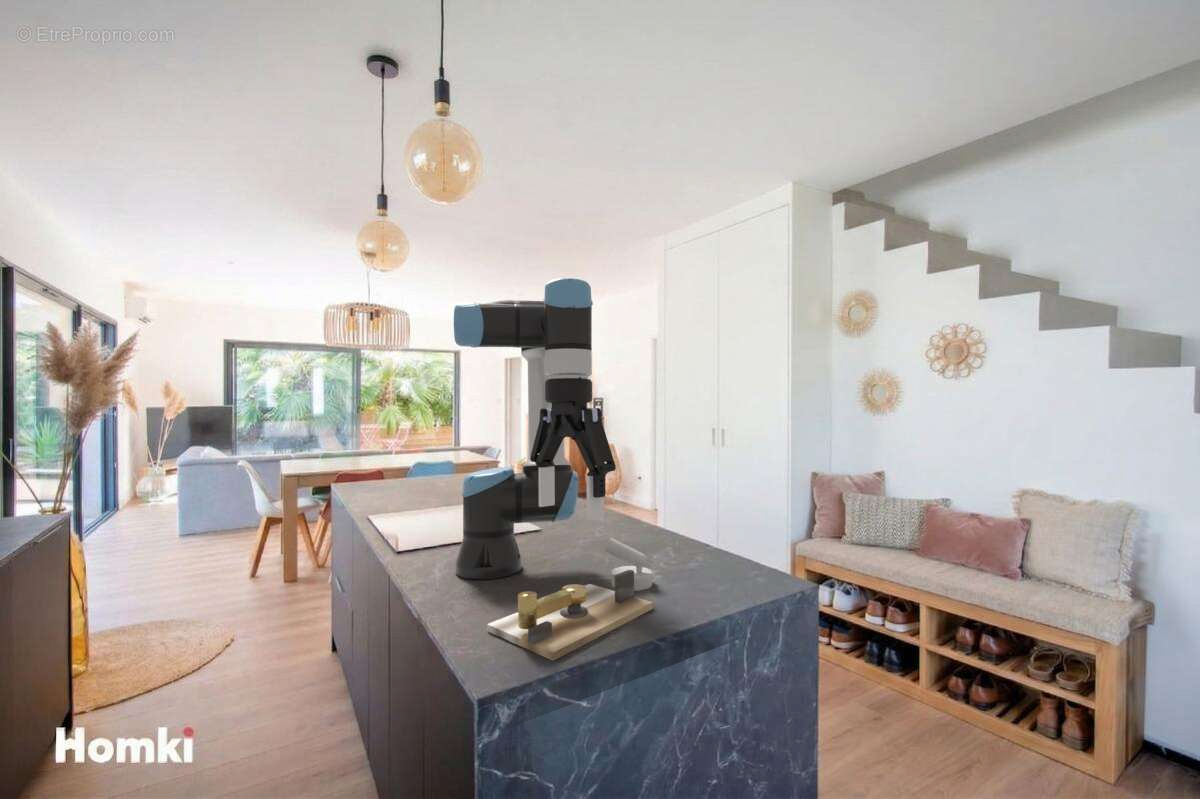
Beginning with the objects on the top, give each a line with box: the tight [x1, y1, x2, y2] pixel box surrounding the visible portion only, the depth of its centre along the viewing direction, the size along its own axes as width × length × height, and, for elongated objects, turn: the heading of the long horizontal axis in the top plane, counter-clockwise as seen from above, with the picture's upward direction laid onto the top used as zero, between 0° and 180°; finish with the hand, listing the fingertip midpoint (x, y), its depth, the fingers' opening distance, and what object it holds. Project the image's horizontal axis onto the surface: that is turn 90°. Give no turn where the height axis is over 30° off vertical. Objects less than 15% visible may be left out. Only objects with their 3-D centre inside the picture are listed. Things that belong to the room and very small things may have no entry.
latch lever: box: [517, 583, 586, 629], centre depth 90 cm, size 15×4×5 cm, turn 139°
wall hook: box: [605, 537, 653, 592], centre depth 112 cm, size 9×10×10 cm
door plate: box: [486, 570, 654, 661], centre depth 94 cm, size 16×26×6 cm, turn 139°
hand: (569, 512), depth 83 cm, fingers open, 13 cm apart
